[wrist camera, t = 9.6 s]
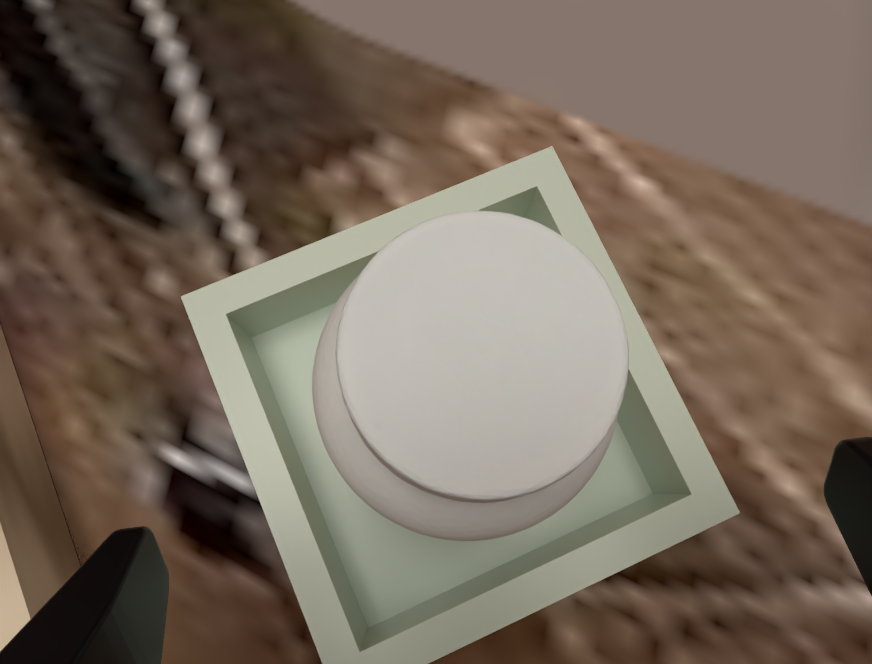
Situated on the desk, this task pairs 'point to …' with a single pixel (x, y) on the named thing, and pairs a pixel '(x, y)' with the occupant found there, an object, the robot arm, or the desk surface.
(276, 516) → the tray
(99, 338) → the desk surface
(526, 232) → the supplement bottle
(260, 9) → the desk surface
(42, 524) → the socket block
